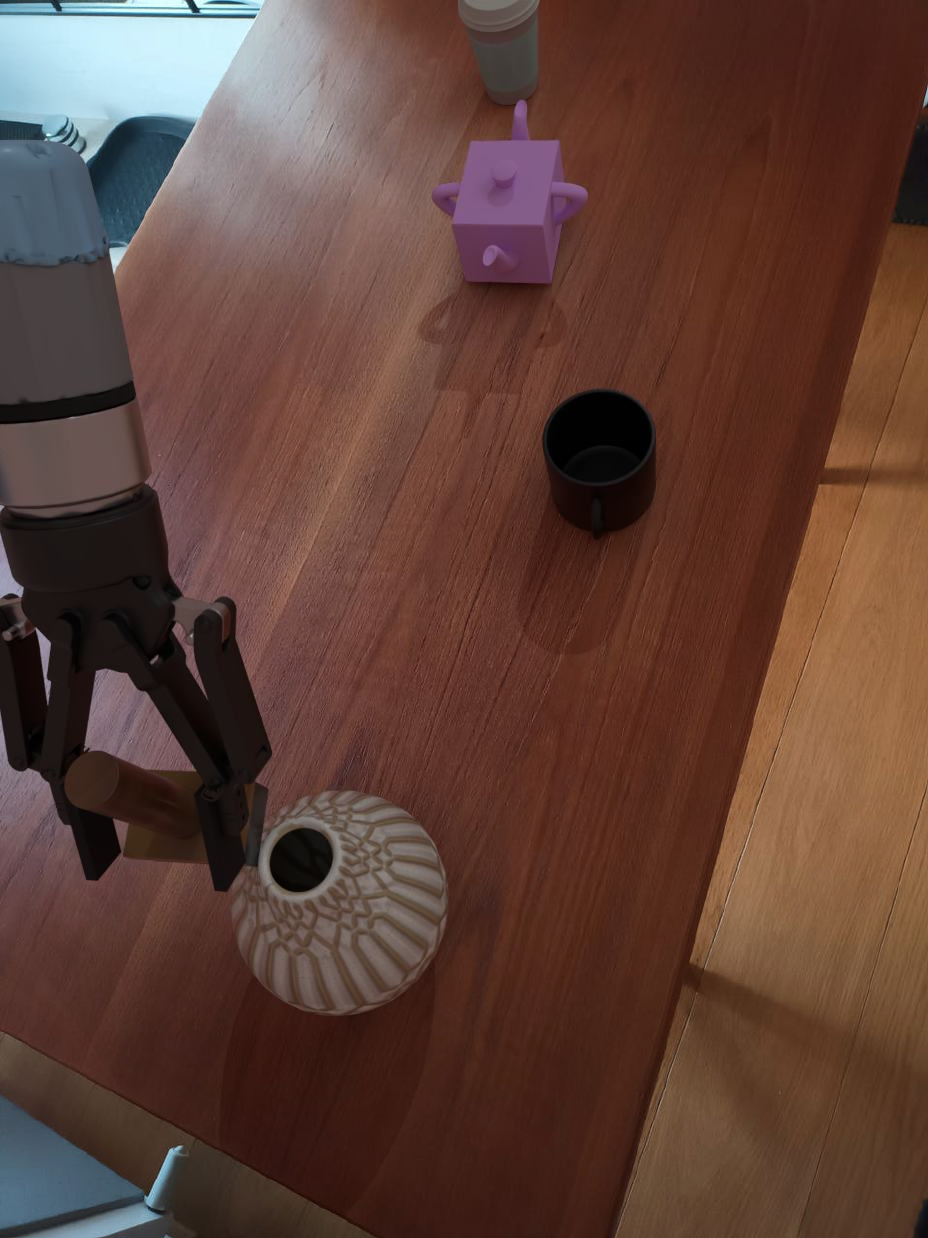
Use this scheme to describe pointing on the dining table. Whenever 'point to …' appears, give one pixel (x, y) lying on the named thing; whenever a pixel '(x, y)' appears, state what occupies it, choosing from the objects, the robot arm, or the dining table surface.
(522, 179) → the teapot
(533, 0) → the coffee cup
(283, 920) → the vase
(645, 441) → the mug
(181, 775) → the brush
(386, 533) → the dining table surface
